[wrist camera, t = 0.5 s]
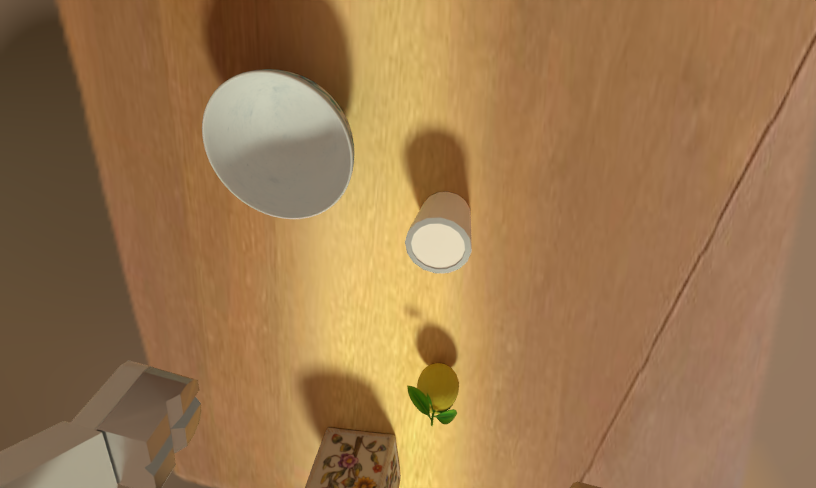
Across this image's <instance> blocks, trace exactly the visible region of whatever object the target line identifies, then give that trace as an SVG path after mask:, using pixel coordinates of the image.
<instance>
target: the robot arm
mask: <svg viewBox="0 0 816 488" xmlns="http://www.w3.org/2000/svg"><path fill="white" fill-rule="evenodd" d="M198 391H199V384H198V380H196V379H193V378H189V377H186V376H182V375H178V374H175V373H171V372H168V371H164V370H161V369H157V368H154V367H151V366H147V365H144V364H140V363H136V362H132V361H127V362H126V363H124V364H123V365H121V366H120V367H119V368H118V369H117V370H116V371H115V372H114V373H113V375H112V376H111V377H110V378H109V379H108V380H107V381H106V383H105V384H104V385H103V386H102V387H101V388H100V389H99V390H98V392H97V393H96V394H95V395H94V396H93V397H92V398H91V400H90V401H89V402H88V403H87V404H86V405H85V406H84V408H83V409H82V410H81V411H80V412H79V413H78V414H77V416H76V417H75V418H74V419H73V420H72V421H71V423H69V422H65V421H63V422H61V423H59V424H57V425H54V426H52V427H50V428H48V429H46V430H44V431H42V432H40V433H38V434H36V435H34V436H32V437H30V438H27V439H25V440H23V441H21V442H19V443H17V444H15V445H13V446H11V447H9V448H7V449H5V450H3V451H1V452H0V488H117V487H118V485H117V484H119V485H123V486H127V487H131V488H162V486H163V484H164V483H165V481H166V479H167V478H168V476H169V475H170V473H171V472H172V470H173V468H174V467H175V465H176V464H175V453H176V452H178V451H180V450H181V449H183V448H185V447H187V446H188V444H189V442H190V441H191V439H192V437H193V436H194V434H195V431H196V429H197V426H198V424H199V421H200V416H201V403H200V402H199V401H198V399H197V398H196V397H195V396H196V394H197V393H198ZM570 488H601V487H597V486H593V485H589V484H585V483H581V482H575V483H573V484H572V485H571V487H570Z"/></svg>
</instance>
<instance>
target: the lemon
mask: <svg viewBox="0 0 816 488" xmlns="http://www.w3.org/2000/svg"><path fill="white" fill-rule="evenodd" d="M407 387H408V393H409V396H410V399H411V400H412V402H413V404H414V405H415V406H416V407H417V409H418V410H419V411H420V412H422V413H423V414H426V415H428V416H429V418H430V419H431V426H433V417H436V418H437V419H438V420H439V421H440V422H441V423H442V424H448V423H450V422H451V421H452V420H453V419H454V417H455V416H456V414H457V411H456V410H454V409H453V410H448V409H450V408H451V407H452V405H453V403H454V402H455V400H456V398H457V395H458V390H459V381H458V378H457V375H456V373H455V372H454V371H453V369H452V368H451V367H449V366H448V365H445V364H443V363H435V364H431V365H429V366H427V367H426V368H425V369H424V370H423V371H422V373H421V375H420V377H419V379H418V383H417V388H415V387H412V386H407ZM447 410H448V411H447ZM429 413H432V418H431V417H430V414H429ZM434 414H438V415H436V416H434Z"/></svg>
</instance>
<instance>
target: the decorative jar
mask: <svg viewBox="0 0 816 488" xmlns="http://www.w3.org/2000/svg"><path fill="white" fill-rule="evenodd" d="M399 484H400V468H399V460H398V454H397V447H396V439H395V436H394V435H392V434H382V433H371V432H364V431H355V430H345V429H337V428H330V427H329V428H327V430H326V433H325V435H324V437H323V440H322V442H321V445H320V447H319V450H318V453H317V455H316V458H315V461H314V464H313V466H312V469H311V472H310V475H309V478H308V481H307V484H306V486H305V488H399Z"/></svg>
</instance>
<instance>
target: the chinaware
mask: <svg viewBox="0 0 816 488" xmlns="http://www.w3.org/2000/svg"><path fill="white" fill-rule="evenodd" d="M202 133H203V142H204V146H205V150H206V153H207V156H208V159H209V161H210V163H211V165H212V167H213V169H214V171H215V172H216V174H217V176H218V177H219V178H220V180H221V181H222V182H223V184H224V185H225V186H226V187H227V188H228V189H229V190H230V191H231V192H232V193H233V194H234V195H235V196H236V197H237V198H239V199H240V200H241V201H243V202H244V203H246V204H247V205H249V206H250V207H252V208H254V209H256V210H258V211H260V212H262V213H265V214H268V215H271V216H274V217H279V218H285V219H302V218H308V217H312V216H315V215H318V214H320V213H322V212H324V211H326V210H328V209H329V208H330V207H332V206H333V205H334V204H335V203H336V202H337V201H338V200H339V199H340V198H341V196H342V195H343V194H344V192H345V190H346V188H347V186H348V184H349V181H350V178H351V175H352V170H353V164H354V143H353V137H352V132H351V129H350V126H349V123H348V121H347V118H346V116H345V114H344V113H343V111H342V109H341V108H340V106H339V105H338V103H337V102H336V101H335V100H334V98H333V97H332V96H331V95H330V94H329V93H328V92H327V91H326V90H324V89H323V88H322V87H321V86H319V85H318V84H316V83H315V82H313V81H311V80H310V79H308V78H306V77H303V76H301V75H298V74H295V73H292V72H288V71H283V70H274V69H263V70H253V71H248V72H244V73H241V74H238V75H236V76H234V77H232V78H230V79H228V80H227V81H225V82H224V83H223V84H222V85H220V86H219V87H218V88H217V90H216V91H215V92H214V93H213V95H212V96H211V98H210V100H209V101H208V104H207V106H206V109H205V112H204V116H203V125H202Z"/></svg>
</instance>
